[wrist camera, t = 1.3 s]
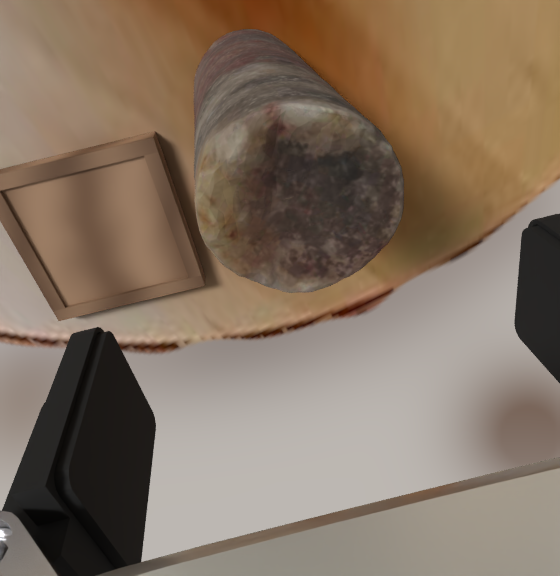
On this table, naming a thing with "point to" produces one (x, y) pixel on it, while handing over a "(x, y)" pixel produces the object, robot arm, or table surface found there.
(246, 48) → the grey brown rough cylinder
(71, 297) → the picture frame
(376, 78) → the table surface
